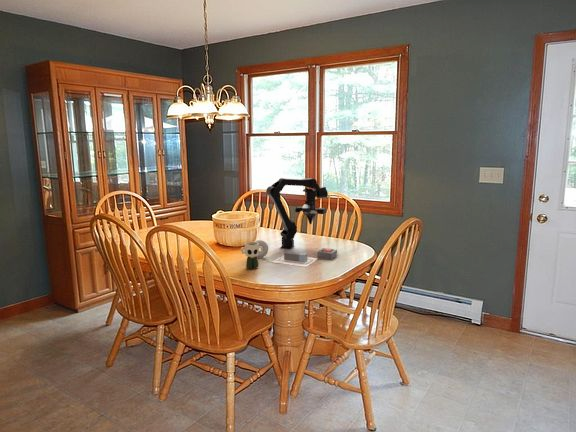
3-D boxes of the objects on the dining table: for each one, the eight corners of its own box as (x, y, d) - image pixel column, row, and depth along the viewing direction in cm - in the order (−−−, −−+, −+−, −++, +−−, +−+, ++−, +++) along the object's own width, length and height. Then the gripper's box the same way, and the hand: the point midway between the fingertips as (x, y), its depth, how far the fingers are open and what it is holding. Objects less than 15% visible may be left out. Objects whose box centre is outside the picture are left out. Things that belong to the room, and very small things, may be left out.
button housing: (317, 257, 235) (317, 251, 234) (322, 253, 242) (322, 248, 242) (331, 259, 231) (331, 253, 231) (336, 255, 239) (337, 249, 238)
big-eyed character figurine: (242, 270, 212) (241, 245, 210) (240, 266, 219) (240, 242, 217) (263, 269, 214) (263, 244, 212) (261, 265, 221) (261, 241, 219)
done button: (321, 256, 236) (321, 250, 235) (324, 254, 240) (324, 248, 239) (329, 257, 234) (329, 251, 233) (332, 255, 238) (332, 249, 237)
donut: (268, 256, 238) (268, 239, 236) (268, 258, 234) (268, 240, 233) (250, 257, 236) (249, 239, 234) (250, 259, 233) (250, 241, 231)
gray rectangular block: (284, 259, 231) (283, 252, 230) (287, 257, 234) (287, 250, 234) (304, 262, 226) (304, 255, 225) (307, 260, 229) (307, 253, 228)
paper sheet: (271, 262, 227) (271, 261, 227) (285, 254, 242) (285, 254, 242) (306, 266, 218) (306, 266, 218) (318, 258, 233) (318, 258, 233)
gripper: (291, 199, 255) (291, 225, 258) (320, 201, 247) (319, 227, 250) (298, 197, 265) (298, 221, 268) (327, 199, 257) (326, 224, 260)
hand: (310, 224), depth 261 cm, fingers closed
